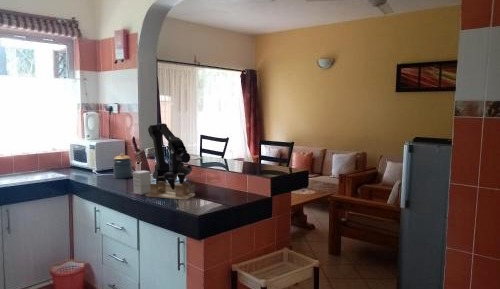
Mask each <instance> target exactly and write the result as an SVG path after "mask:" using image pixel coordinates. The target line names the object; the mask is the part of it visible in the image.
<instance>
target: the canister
mask: <svg viewBox="0 0 500 289" xmlns="http://www.w3.org/2000/svg"><path fill="white" fill-rule="evenodd" d="M112 163H113V167H112V168H113V178H114V179H119V180H120V179H129V178H133V165H132V159H131V157H130V156H129V155H125V154H124V153H123V152H122V153H120V154H119V155H116V156H115V157H114V158H113V161H112Z"/></svg>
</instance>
